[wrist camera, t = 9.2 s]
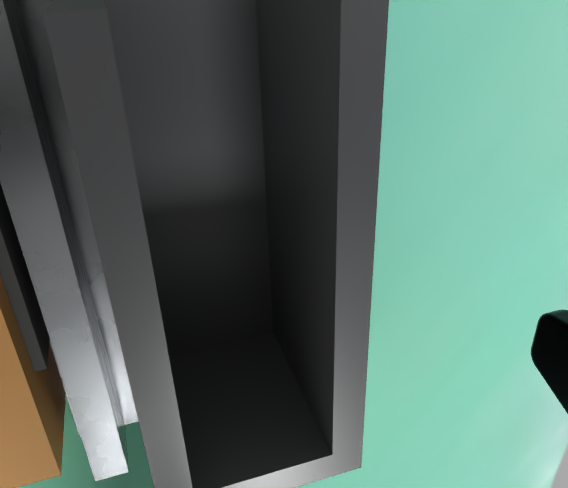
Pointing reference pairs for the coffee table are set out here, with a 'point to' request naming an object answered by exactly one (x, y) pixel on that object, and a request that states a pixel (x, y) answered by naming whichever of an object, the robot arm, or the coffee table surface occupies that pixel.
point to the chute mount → (60, 237)
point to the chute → (233, 221)
